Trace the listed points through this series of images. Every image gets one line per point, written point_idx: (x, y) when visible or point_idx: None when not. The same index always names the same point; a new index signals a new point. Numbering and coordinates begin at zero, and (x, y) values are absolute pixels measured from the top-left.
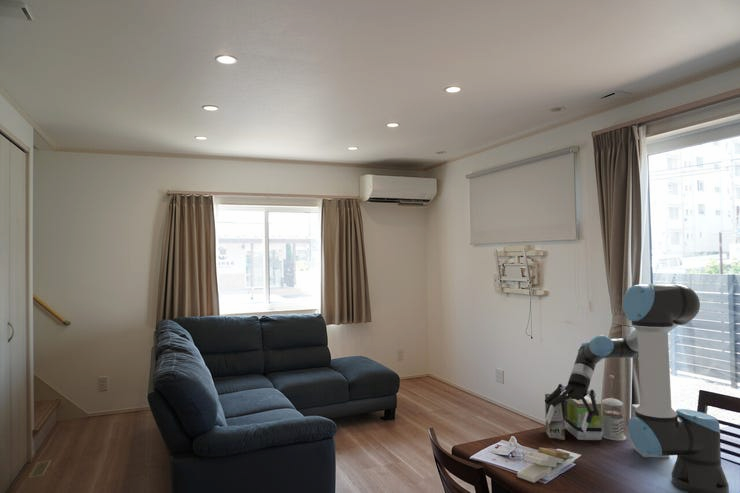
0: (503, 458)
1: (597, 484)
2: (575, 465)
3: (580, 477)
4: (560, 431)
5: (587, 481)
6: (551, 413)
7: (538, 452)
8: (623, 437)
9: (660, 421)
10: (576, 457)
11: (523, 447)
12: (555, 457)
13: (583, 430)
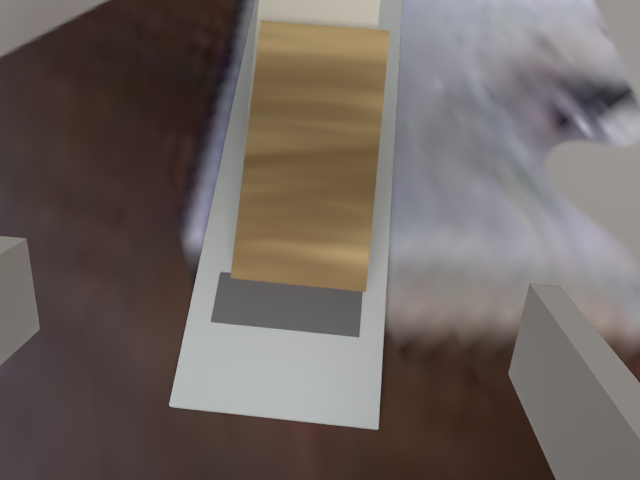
0: (578, 62)
1: (27, 61)
2: (180, 220)
3: (121, 85)
4: None
5: (79, 64)
6: (572, 428)
7: (368, 6)
8: None
9: None
10: (194, 328)
11: (609, 302)
12: (256, 32)
13: (26, 298)
